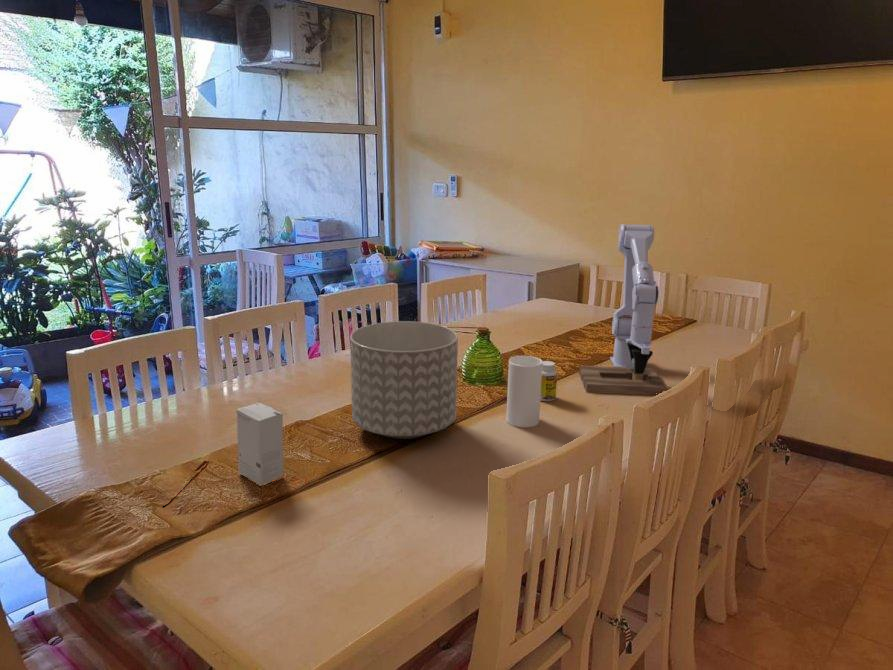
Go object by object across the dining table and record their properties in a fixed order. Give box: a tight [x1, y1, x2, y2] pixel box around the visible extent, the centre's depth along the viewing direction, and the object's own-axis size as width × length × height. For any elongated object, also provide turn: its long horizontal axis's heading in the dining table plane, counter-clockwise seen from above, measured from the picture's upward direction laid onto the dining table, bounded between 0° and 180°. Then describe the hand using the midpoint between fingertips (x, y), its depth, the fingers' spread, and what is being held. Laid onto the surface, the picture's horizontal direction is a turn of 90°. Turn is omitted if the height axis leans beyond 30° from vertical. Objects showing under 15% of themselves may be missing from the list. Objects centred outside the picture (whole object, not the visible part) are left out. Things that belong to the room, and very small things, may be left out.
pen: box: [193, 460, 207, 473], centre depth 134 cm, size 1×19×1 cm, turn 174°
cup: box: [505, 355, 543, 429], centre depth 164 cm, size 8×8×16 cm
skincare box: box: [236, 402, 284, 485], centre depth 135 cm, size 8×6×15 cm
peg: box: [631, 359, 648, 380], centre depth 192 cm, size 4×4×7 cm
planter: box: [349, 320, 459, 440], centre depth 157 cm, size 25×25×24 cm
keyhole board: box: [578, 365, 667, 396], centre depth 193 cm, size 16×22×2 cm
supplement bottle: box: [540, 360, 558, 402], centre depth 180 cm, size 6×6×10 cm
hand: (637, 370), depth 192 cm, fingers closed on peg, 4 cm apart
